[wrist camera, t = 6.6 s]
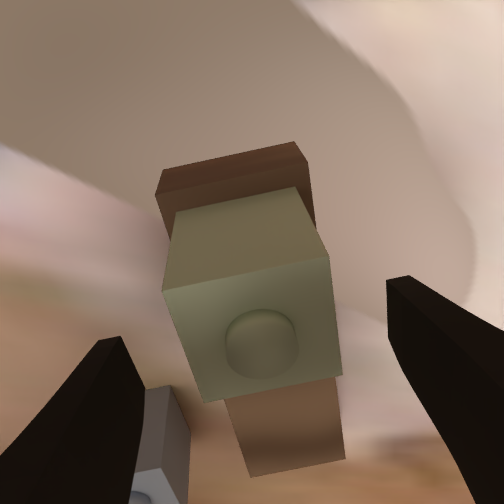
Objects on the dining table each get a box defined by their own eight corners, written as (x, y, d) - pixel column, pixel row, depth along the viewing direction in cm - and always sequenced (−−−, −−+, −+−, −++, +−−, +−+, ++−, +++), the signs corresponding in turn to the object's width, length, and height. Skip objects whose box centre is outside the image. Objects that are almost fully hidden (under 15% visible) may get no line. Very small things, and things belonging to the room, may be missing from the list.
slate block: (191, 432, 23) (186, 531, 19) (121, 446, 23) (100, 548, 19) (170, 384, 21) (159, 481, 17) (94, 399, 21) (63, 500, 17)
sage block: (309, 284, 15) (348, 391, 11) (206, 306, 16) (203, 421, 11) (295, 186, 13) (335, 269, 9) (176, 211, 14) (158, 306, 9)
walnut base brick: (333, 417, 23) (345, 458, 21) (247, 435, 23) (250, 477, 21) (294, 141, 15) (307, 162, 13) (162, 169, 15) (154, 194, 13)
